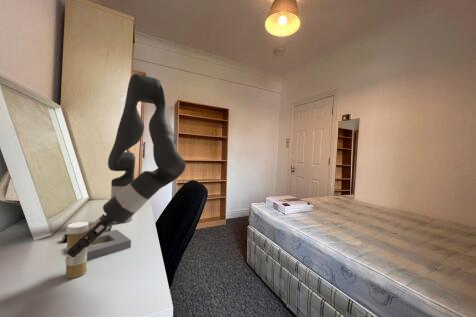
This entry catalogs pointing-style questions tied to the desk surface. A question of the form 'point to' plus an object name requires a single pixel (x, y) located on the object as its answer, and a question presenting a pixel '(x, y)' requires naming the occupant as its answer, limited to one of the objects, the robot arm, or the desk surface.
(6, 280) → the desk surface
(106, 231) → the electric trimmer
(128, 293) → the desk surface
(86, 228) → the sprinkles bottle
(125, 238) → the holder plate
